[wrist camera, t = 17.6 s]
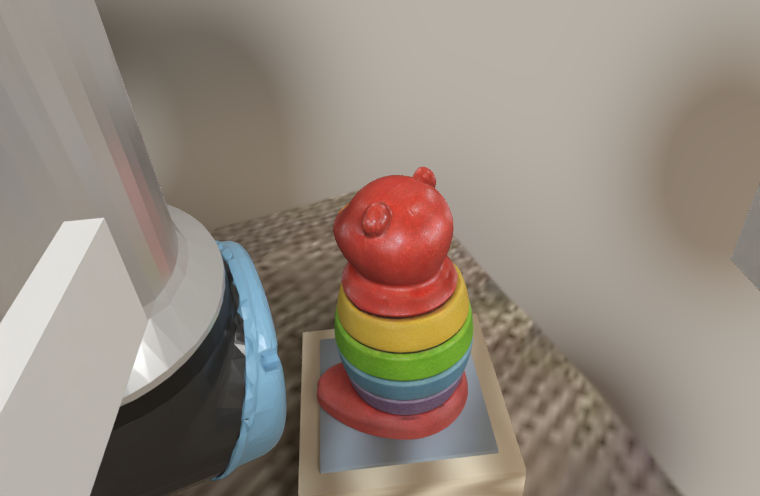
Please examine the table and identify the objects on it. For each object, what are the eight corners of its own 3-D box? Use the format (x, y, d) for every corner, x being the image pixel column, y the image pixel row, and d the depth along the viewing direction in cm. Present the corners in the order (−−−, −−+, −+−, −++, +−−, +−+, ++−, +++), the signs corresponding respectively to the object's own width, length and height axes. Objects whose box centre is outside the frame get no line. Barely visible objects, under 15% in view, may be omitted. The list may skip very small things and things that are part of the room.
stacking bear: (399, 318, 49) (387, 126, 39) (500, 377, 44) (520, 171, 33) (305, 397, 43) (260, 195, 33) (408, 477, 38) (395, 264, 27)
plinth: (306, 528, 40) (297, 493, 37) (309, 363, 52) (302, 328, 49) (521, 503, 40) (526, 467, 38) (474, 345, 52) (476, 310, 50)
